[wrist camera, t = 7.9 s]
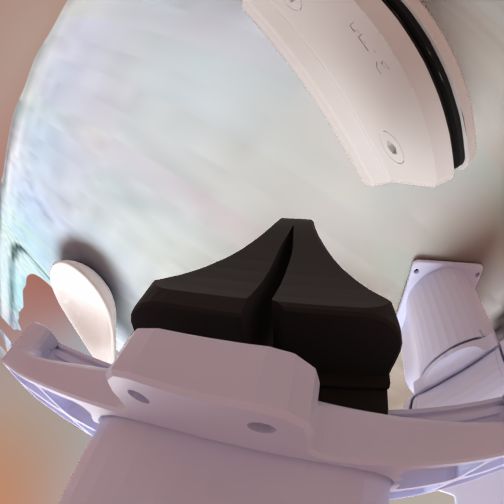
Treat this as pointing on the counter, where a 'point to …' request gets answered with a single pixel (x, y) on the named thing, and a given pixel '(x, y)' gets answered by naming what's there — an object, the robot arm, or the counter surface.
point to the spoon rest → (87, 306)
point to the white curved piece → (378, 83)
